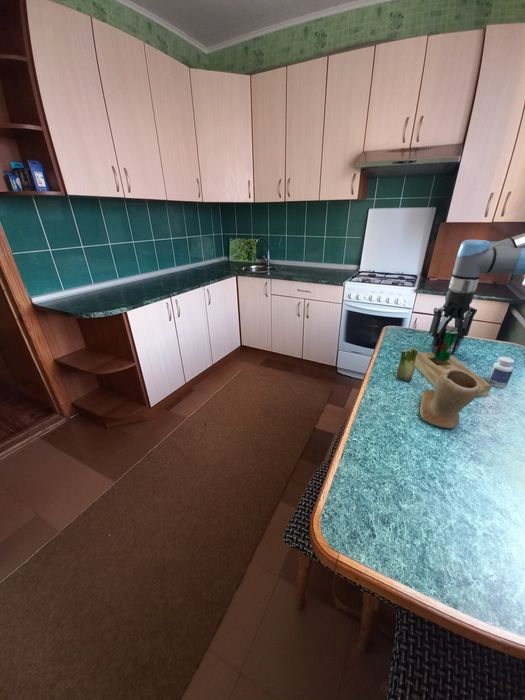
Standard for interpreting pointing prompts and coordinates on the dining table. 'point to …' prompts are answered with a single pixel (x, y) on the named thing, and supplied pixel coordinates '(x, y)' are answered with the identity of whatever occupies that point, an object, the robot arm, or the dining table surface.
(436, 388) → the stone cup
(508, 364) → the pill bottle
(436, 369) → the socket block
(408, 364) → the fennel bulb
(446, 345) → the soda can
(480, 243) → the robot arm
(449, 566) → the dining table surface
